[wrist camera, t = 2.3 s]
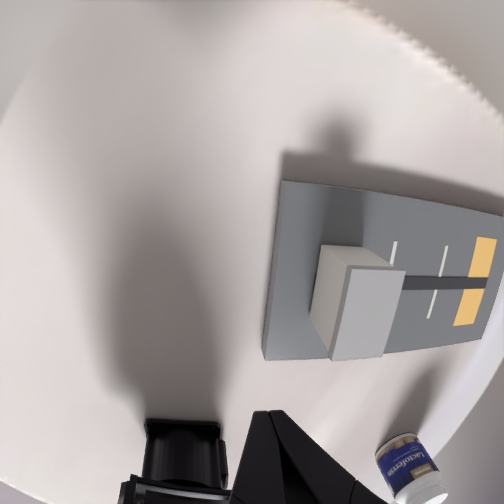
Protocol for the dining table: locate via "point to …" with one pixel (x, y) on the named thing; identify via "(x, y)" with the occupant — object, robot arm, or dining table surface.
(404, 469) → the pill bottle
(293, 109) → the dining table surface
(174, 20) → the dining table surface
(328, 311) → the fader
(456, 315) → the mixing board
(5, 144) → the dining table surface
